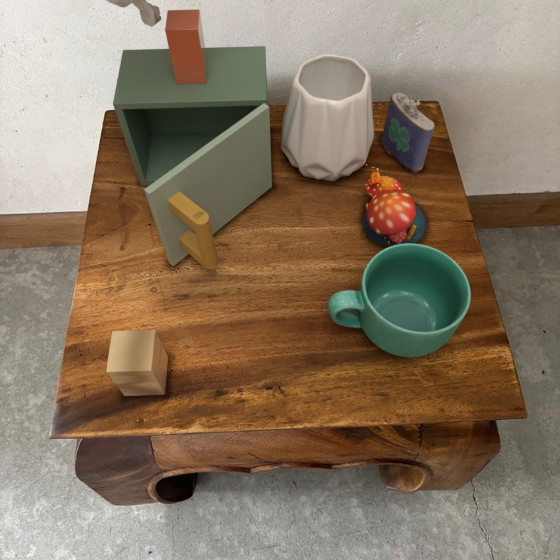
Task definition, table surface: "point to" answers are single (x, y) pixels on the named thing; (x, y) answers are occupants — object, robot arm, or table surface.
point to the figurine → (391, 213)
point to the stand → (137, 362)
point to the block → (186, 46)
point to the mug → (406, 300)
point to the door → (212, 188)
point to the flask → (407, 132)
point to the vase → (328, 117)
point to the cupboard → (183, 104)
